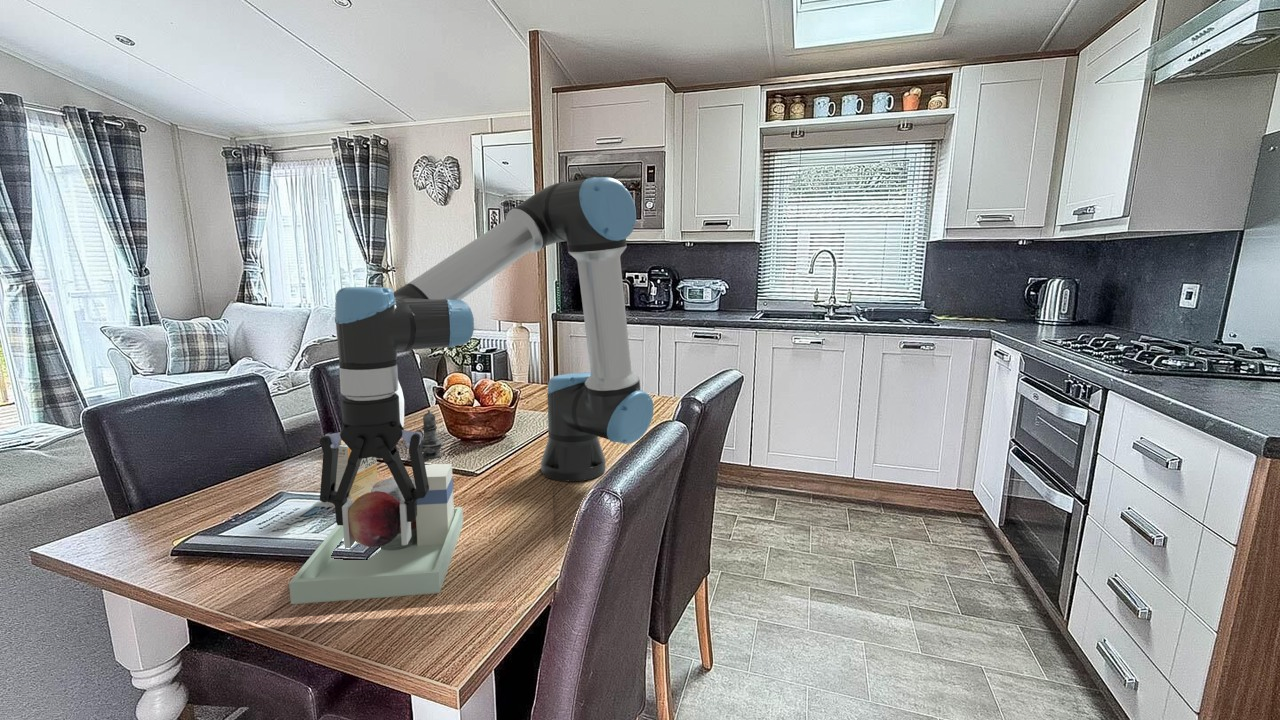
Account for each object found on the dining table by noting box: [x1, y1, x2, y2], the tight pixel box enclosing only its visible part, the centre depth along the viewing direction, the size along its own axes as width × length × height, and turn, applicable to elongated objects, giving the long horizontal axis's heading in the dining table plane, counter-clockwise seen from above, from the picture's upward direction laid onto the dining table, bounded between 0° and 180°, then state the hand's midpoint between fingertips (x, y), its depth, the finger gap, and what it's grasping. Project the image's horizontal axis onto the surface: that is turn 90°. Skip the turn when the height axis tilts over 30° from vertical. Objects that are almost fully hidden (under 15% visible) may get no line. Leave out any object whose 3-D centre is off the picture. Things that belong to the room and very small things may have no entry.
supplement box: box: [330, 440, 378, 507], centre depth 109 cm, size 8×5×13 cm, turn 168°
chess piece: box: [421, 409, 444, 460], centre depth 137 cm, size 6×6×12 cm
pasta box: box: [414, 463, 455, 546], centre depth 94 cm, size 5×6×12 cm
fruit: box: [348, 491, 401, 547], centre depth 82 cm, size 8×8×8 cm
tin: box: [373, 476, 417, 550], centre depth 93 cm, size 7×7×10 cm
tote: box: [288, 506, 464, 605], centre depth 88 cm, size 20×22×4 cm
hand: (378, 542), depth 83 cm, fingers closed on fruit, 7 cm apart
